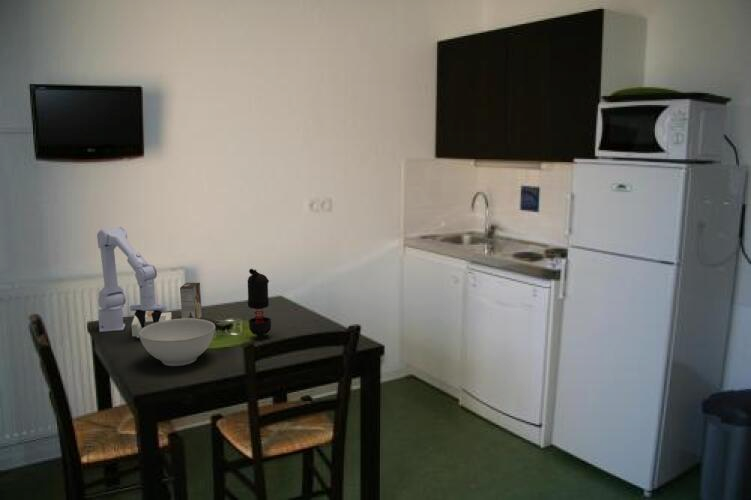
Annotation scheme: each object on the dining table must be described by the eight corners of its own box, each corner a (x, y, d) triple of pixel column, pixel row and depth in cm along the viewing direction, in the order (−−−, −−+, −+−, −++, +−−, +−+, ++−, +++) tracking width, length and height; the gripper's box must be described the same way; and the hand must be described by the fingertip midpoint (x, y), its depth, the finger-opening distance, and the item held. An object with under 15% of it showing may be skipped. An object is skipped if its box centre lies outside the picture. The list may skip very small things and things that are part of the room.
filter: (263, 343, 250) (261, 270, 244) (243, 340, 253) (240, 268, 247) (279, 332, 262) (277, 263, 257) (260, 330, 265) (257, 261, 260)
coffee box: (188, 316, 286) (186, 282, 283) (202, 316, 286) (200, 282, 283) (181, 322, 277) (179, 287, 274) (196, 322, 277) (194, 287, 274)
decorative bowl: (189, 343, 250) (187, 314, 247) (231, 358, 233) (230, 327, 231) (126, 361, 229) (124, 330, 227) (167, 380, 213) (165, 346, 210)
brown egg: (147, 324, 268) (147, 314, 268) (148, 321, 273) (147, 311, 272) (158, 323, 270) (157, 313, 269) (159, 320, 274) (158, 310, 273)
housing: (132, 336, 258) (131, 324, 257) (135, 325, 272) (135, 314, 271) (170, 333, 262) (169, 321, 261) (172, 323, 276) (171, 312, 275)
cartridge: (136, 337, 252) (135, 323, 251) (139, 330, 261) (138, 316, 260) (163, 335, 255) (162, 321, 253) (164, 328, 264) (163, 314, 263)
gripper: (169, 293, 254) (171, 325, 256) (134, 292, 255) (137, 324, 258) (161, 298, 247) (163, 331, 249) (126, 297, 248) (128, 329, 251)
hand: (149, 328), depth 253 cm, fingers open, 4 cm apart
